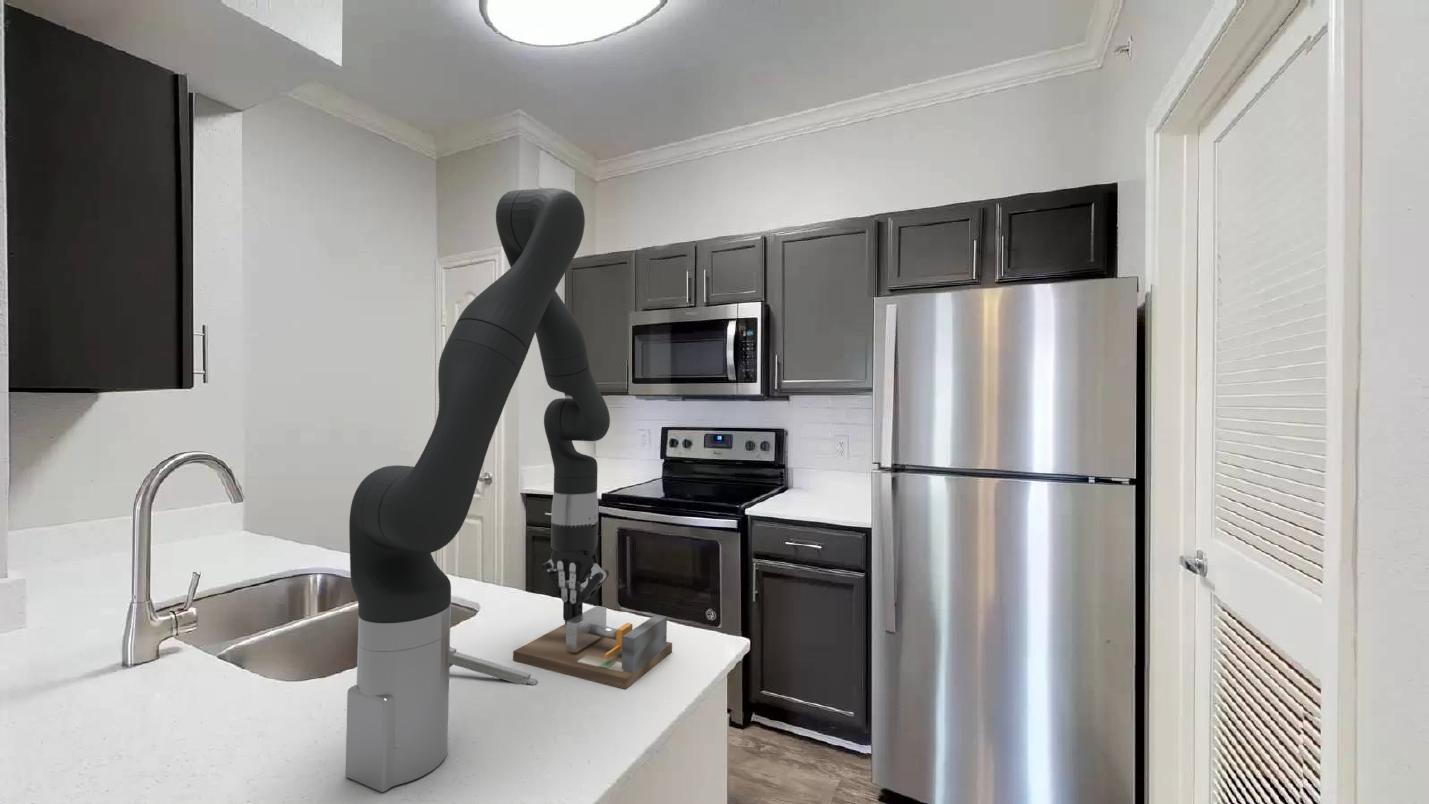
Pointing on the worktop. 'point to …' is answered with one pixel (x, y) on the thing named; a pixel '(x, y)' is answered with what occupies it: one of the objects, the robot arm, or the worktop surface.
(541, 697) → the worktop surface
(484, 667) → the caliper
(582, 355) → the robot arm
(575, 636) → the plunger
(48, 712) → the worktop surface
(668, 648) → the gauge board
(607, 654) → the orange paddle
